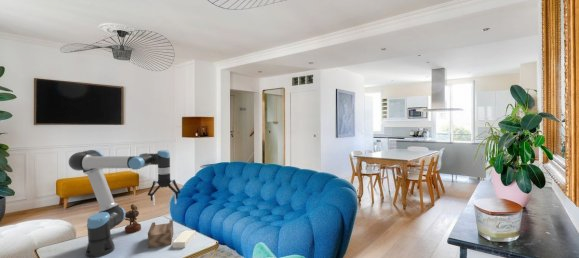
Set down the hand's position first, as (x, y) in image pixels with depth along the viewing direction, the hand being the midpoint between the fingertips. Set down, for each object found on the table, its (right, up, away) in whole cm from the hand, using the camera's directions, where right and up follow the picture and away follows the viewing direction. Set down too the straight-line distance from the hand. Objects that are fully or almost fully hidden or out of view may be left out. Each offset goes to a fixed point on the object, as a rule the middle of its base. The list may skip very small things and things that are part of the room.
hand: (164, 204), depth 187 cm
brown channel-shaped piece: (-2, -25, +1) cm, 25 cm away
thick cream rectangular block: (+14, -25, -1) cm, 29 cm away
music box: (-33, -25, +19) cm, 46 cm away
